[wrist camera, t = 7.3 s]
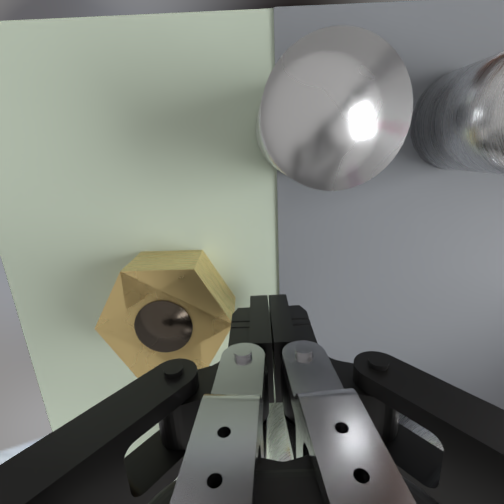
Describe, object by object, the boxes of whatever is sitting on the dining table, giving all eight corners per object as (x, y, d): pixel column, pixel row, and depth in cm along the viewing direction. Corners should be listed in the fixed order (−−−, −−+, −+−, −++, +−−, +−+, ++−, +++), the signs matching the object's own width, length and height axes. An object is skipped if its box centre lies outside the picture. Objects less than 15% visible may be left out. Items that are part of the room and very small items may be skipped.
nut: (110, 252, 14) (82, 273, 11) (233, 248, 14) (230, 268, 11) (125, 344, 15) (103, 380, 13) (237, 341, 15) (235, 376, 13)
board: (-46, 33, 12) (-71, 23, 11) (800, -6, 12) (847, -20, 11) (76, 469, 19) (66, 486, 18) (623, 443, 19) (643, 459, 18)
